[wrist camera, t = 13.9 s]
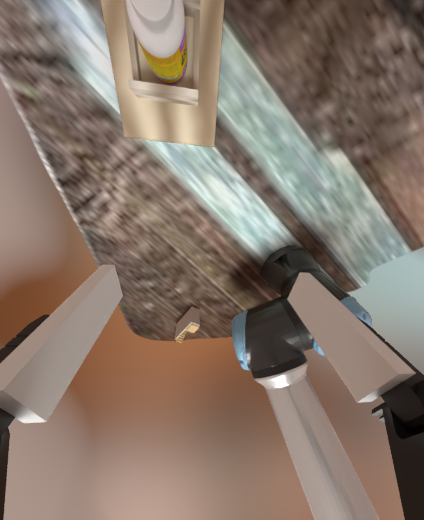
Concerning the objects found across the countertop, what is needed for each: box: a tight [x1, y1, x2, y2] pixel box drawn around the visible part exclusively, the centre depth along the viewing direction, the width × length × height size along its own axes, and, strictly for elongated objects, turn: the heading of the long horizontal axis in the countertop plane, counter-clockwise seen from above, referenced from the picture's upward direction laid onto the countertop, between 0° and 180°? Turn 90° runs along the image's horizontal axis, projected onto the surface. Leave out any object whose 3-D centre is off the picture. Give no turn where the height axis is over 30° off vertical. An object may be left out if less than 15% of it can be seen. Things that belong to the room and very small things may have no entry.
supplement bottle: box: [126, 0, 188, 86], centre depth 18 cm, size 6×6×11 cm
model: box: [175, 307, 200, 343], centre depth 53 cm, size 3×11×8 cm, turn 145°
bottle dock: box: [101, 0, 224, 147], centre depth 21 cm, size 16×20×5 cm
